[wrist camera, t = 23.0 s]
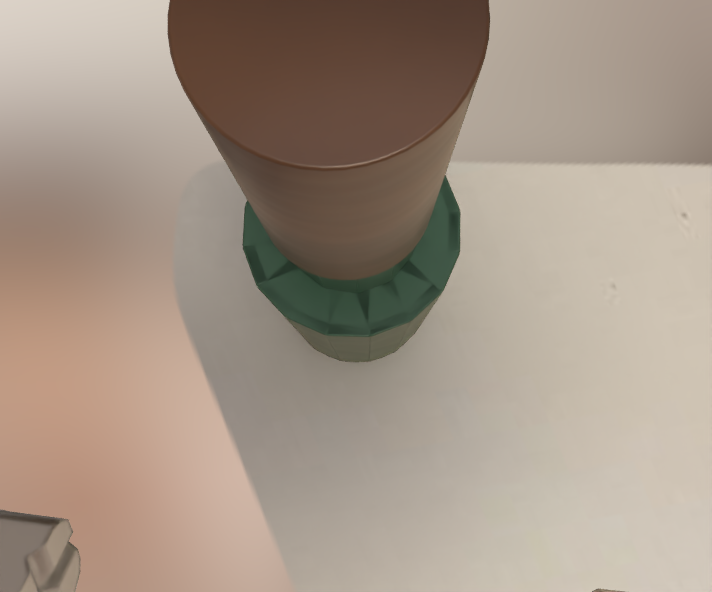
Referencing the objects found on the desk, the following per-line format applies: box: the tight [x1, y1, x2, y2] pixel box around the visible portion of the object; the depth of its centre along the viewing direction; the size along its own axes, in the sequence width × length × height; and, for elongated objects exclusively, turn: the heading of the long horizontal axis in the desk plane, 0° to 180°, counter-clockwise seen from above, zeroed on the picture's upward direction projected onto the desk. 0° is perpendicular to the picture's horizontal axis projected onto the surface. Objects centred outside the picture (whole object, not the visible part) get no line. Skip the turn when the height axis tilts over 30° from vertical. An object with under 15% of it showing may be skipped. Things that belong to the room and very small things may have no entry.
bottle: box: [243, 175, 460, 362], centre depth 25 cm, size 6×6×15 cm
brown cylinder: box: [168, 0, 490, 280], centre depth 13 cm, size 4×4×8 cm
